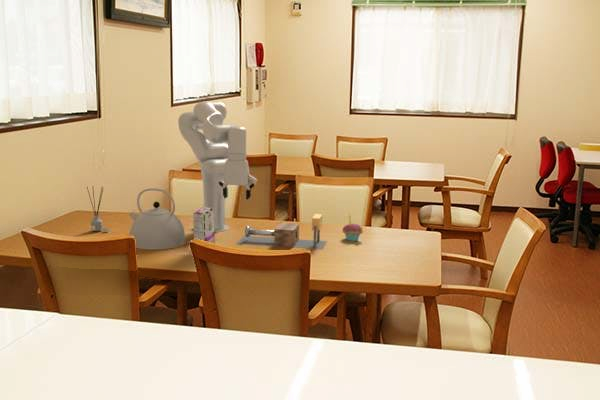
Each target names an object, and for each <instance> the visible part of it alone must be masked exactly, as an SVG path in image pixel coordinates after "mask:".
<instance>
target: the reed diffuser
mask: <svg viewBox="0 0 600 400" xmlns="http://www.w3.org/2000/svg"><path fill="white" fill-rule="evenodd" d="M92 188H94V186H93V185H92ZM86 189H87V193H88V196H89V199H90V202H91V203H90V204H91V207H92V210H93V213H94V214H93V215H94V216H93V218H92V220H91V221H90V227H91V228H90V229H91V231H93V232H95V231H102V232H103V233H108V232H109V228H108V227H103V220H102V219H100V217H99V210H100V206H101V200H102V196H103V193H104V189H103V187H101V189H100V194H99V199H98V205H97V211H95V209H96V204H95V200H93V202H92V199H91V198H92V197H91V194H90V191H89V189H88V186H86ZM92 193H93V194H92V196H93V198H95V194H94V193H95V191H94V189H92Z"/></svg>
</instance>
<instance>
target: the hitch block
mask: <svg viewBox="0 0 600 400" xmlns="http://www.w3.org/2000/svg"><path fill="white" fill-rule="evenodd" d="M273 230H274V236H273V238H274V246H273V247H277V246H284V247H283V248H292V247H294V246H295V244H296V243H297V241H298V240H299V239H300V223H295V222H279V223H278V225H277V226H276V227H275V228H274V229H273ZM320 238H321V229H320V230H319V231H317V226H314V230H313V240H314V241H313V248H316V241H317V242H320V241H321V239H320Z"/></svg>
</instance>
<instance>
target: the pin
mask: <svg viewBox="0 0 600 400" xmlns="http://www.w3.org/2000/svg"><path fill="white" fill-rule="evenodd" d="M244 234H245V235H244V236H246V237H250V236H262V237H274V229H273V230H272V229H259V228H258V229H257V228H256V229H255V228H251V226H248V225H246V226H245V229H244Z"/></svg>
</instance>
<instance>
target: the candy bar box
mask: <svg viewBox="0 0 600 400" xmlns="http://www.w3.org/2000/svg"><path fill="white" fill-rule="evenodd" d="M194 238H197V239H200V240H204V241H207V242H211V243H214V244H215V241H216V240H215V232H214V208H210V207H204V206H203V207H201V208H199V209H198V210H196V211H195V212H193V239H194Z"/></svg>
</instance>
